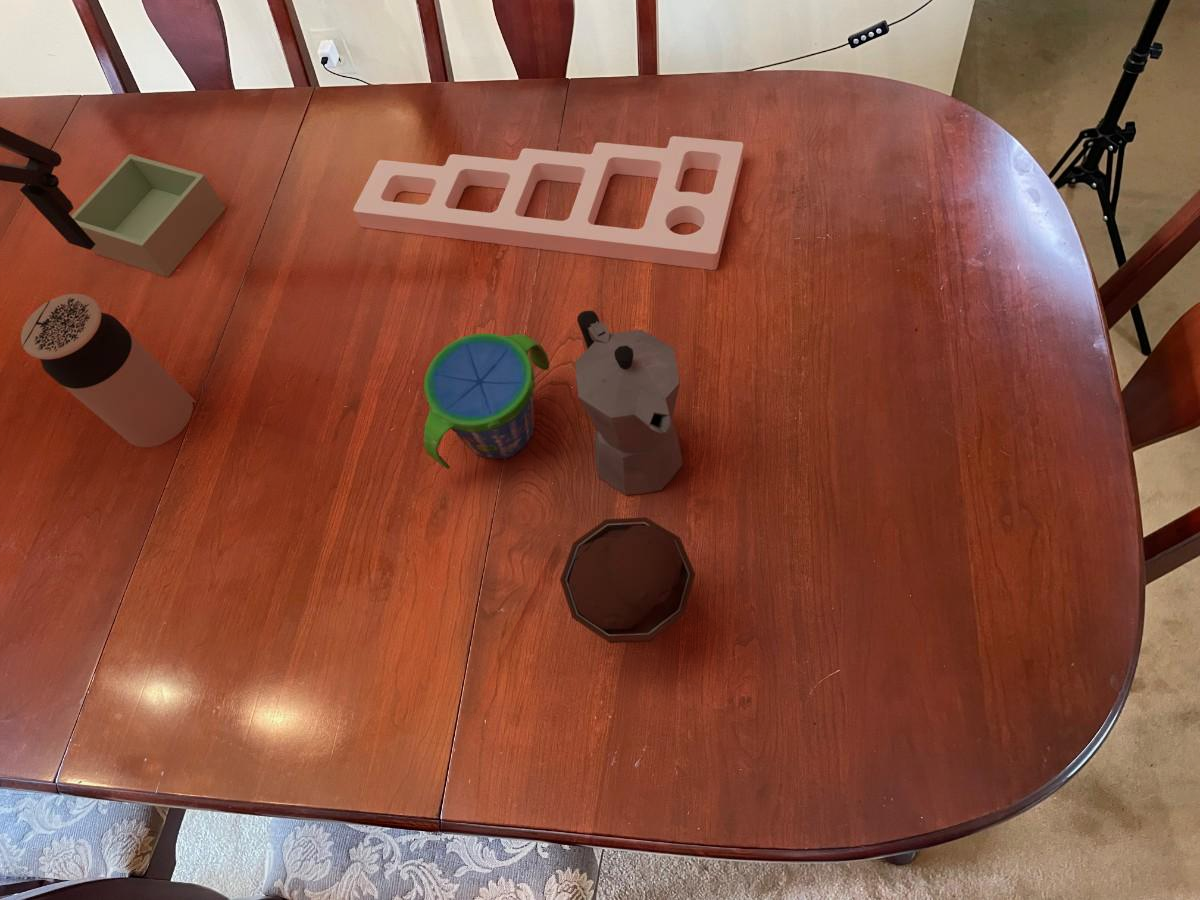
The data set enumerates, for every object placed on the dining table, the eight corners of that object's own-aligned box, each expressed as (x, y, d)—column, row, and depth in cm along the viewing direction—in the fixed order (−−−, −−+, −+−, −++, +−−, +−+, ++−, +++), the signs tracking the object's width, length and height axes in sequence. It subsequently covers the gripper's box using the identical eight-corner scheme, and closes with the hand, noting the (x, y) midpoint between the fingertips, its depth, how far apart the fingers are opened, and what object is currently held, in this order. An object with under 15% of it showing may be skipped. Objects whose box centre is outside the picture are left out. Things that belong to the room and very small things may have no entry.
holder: (359, 226, 106) (352, 211, 104) (409, 128, 114) (403, 111, 112) (716, 270, 97) (716, 254, 94) (743, 159, 105) (744, 142, 102)
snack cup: (474, 511, 85) (447, 462, 76) (412, 448, 89) (380, 395, 80) (587, 414, 89) (575, 357, 80) (523, 358, 93) (504, 299, 85)
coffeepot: (712, 484, 83) (714, 382, 68) (629, 529, 82) (611, 436, 66) (636, 375, 91) (622, 260, 75) (558, 414, 89) (527, 305, 74)
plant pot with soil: (667, 542, 81) (660, 468, 68) (712, 650, 75) (713, 592, 62) (562, 579, 80) (535, 512, 67) (599, 691, 75) (577, 641, 62)
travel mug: (213, 401, 95) (117, 298, 79) (177, 462, 92) (69, 366, 76) (155, 387, 97) (50, 284, 81) (117, 446, 93) (-1, 350, 78)
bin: (94, 253, 109) (65, 221, 104) (154, 187, 114) (129, 153, 109) (168, 277, 105) (141, 245, 100) (226, 208, 110) (204, 174, 106)
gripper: (-311, 239, 51) (-40, 423, 69) (-16, -8, 61) (151, 209, 79) (-382, 211, 53) (-102, 397, 71) (-86, -23, 63) (92, 192, 81)
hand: (32, 298), depth 75 cm, fingers open, 13 cm apart
